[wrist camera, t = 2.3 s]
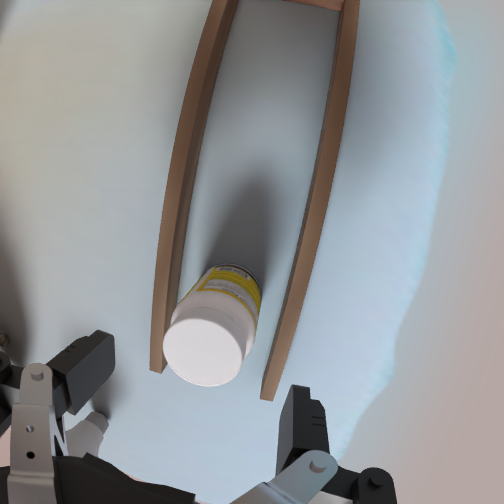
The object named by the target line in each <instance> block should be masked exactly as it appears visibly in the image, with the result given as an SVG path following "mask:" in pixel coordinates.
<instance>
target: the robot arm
mask: <svg viewBox="0 0 504 504" xmlns="http://www.w3.org/2000/svg"><path fill="white" fill-rule="evenodd" d="M114 367H115V345H114V336H113V335H111V334H109V333H106V332H103V331H101V330H96V331H95V332H94V333H93V334H91V335H90V336H89V337H88V336H85V337H82V338H79V339H76V340H75V341H74V342H73V343H71V344H70V346H68V347H66V348H65V350H63V351H61V352H60V353H59V354H58V355H56V356H55V357H54V358H53V359H52V360H50V361H49V362H48V363H47V364H41V363H33V364H30V365H28V366H26V367H25V368H21V367H18V366H15V365H11V361H10V358H9V356H8V355H7V354H6V353H4V352H1V351H0V437H1V436H2V434H3V433H4V432H5V431H6V430H7V429H8V428H9V426H10V425H11V441H10V466H6V467H0V504H199V503H198V502H196V501H195V495H196V494H193V493H189V492H186V491H182V490H179V489H176V488H173V487H170V486H166V485H159V484H152V483H146V482H140V481H135V480H133V479H132V478H130V477H129V476H127V475H126V474H124V473H123V472H122V471H120V470H119V469H117V468H116V467H115V466H113V465H112V464H110V463H108V462H106V461H104V460H102V459H100V458H98V457H96V456H94V455H92V454H90V453H88V452H86V454H85V455H84V456H83V458H81V457H76V456H69V455H68V450H67V444H66V435H65V426H64V417H63V414H64V413H65V412H66V411H67V412H69V413H71V414H73V415H76V414H77V413H78V412H79V410H80V409H81V408H82V407H83V406H84V405H85V404H86V402H87V401H88V400H89V399H90V398H91V397H92V396H93V394H94V393H95V392H96V391H97V390H98V389H99V388H100V386H101V385H102V384H103V383H104V382H105V381H106V380H107V379H108V377H109V376H110V375H111V374H112V372H113V370H114ZM325 419H326V416H325V409H324V407H323V406H322V404H321V403H320V401H319V400H313V399H310V388H309V387H305V386H299V385H293V384H292V385H291V387H290V390H289V393H288V395H287V398H286V401H285V404H284V406H283V409H282V412H281V416H280V422H279V436H278V450H277V463H276V475H275V478H273V479H272V480H271V481H269V482H268V483H265V482H262V483H260V484H258V485H257V486H255V487H254V488H252V489H251V490H249V491H248V492H246V493H245V494H244V495H242V496H241V497H239V498H237V499H236V500H234V501H233V502H231V503H230V504H397V500H396V494H395V488H394V482H393V479H392V477H391V476H390V474H389V473H388V472H386V471H385V470H383V469H380V468H375V467H374V468H367V469H365V470H363V471H362V472H361V473H357V472H353V471H350V470H346V469H344V468H342V467H340V466H338V464H337V462H336V460H335V458H334V457H333V456H331V455H330V451H329V442H328V433H327V427H326V425H327V424H326V420H325Z"/></svg>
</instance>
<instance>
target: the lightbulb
mask: <svg viewBox="0 0 504 504" xmlns="http://www.w3.org/2000/svg"><path fill="white" fill-rule="evenodd" d="M108 426H109V424H108V421H107V419H106V418H105V416H104V415H103V414H101V413H98V412H91V413H90V414H89V415H88V416H87V417H86V418H85V419H84V420H82V421H80V422H79V423H78V424H77V425H76V426H75V427H73V428H72V429H70V430H68V431H65V435H66V444H67V450H68V455H69V456H76V457H81V458H83V456H84V455H85V454H86V452H88V453H90V454H92V455H94V456H96V457H98V449H99V446H100V444H101V442H102V440H103V434H104V433H105V431H106V430H107V428H108Z"/></svg>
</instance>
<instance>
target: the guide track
mask: <svg viewBox="0 0 504 504" xmlns="http://www.w3.org/2000/svg"><path fill="white" fill-rule="evenodd" d="M284 1H291V2H297V3H303V4H308V5H314V6H318V7H323V8H328V9H332V10H336V11H340V20H339V27H338V34H337V41H336V48H335V55H334V61H333V67H332V74H331V80H330V86H329V92H328V97H327V103H326V109H325V114H324V120H323V125H322V131H321V136H320V141H319V146H318V151H317V156H316V161H315V166H314V171H313V176H312V181H311V186H310V190H309V195H308V200H307V204H306V209H305V213H304V218H303V222H302V227H301V231H300V236H299V240H298V244H297V249H296V253H295V257H294V261H293V265H292V270H291V274H290V278H289V282H288V286H287V290H286V294H285V298H284V302H283V306H282V309H281V313H280V317H279V321H278V325H277V329H276V332H275V336H274V340H273V343H272V347H271V351H270V354H269V358H268V362H267V365H266V369H265V372H264V376H263V379H262V386H261V394H260V399H262V400H268V401H273V399H274V396H275V393H276V390H277V387H278V384H279V381H280V378H281V375H282V372H283V369H284V366H285V362H286V359H287V356H288V353H289V350H290V346H291V343H292V340H293V336H294V333H295V329H296V326H297V323H298V319H299V316H300V312H301V309H302V305H303V301H304V298H305V294H306V291H307V287H308V283H309V279H310V276H311V272H312V268H313V264H314V260H315V256H316V252H317V248H318V244H319V240H320V236H321V231H322V227H323V223H324V219H325V214H326V210H327V205H328V201H329V196H330V192H331V187H332V182H333V177H334V172H335V168H336V162H337V157H338V152H339V147H340V142H341V136H342V131H343V125H344V119H345V113H346V107H347V101H348V95H349V88H350V81H351V74H352V67H353V60H354V52H355V44H356V35H357V26H358V16H359V5H360V0H284ZM237 2H238V0H213V2H212V5H211V8H210V11H209V14H208V17H207V20H206V23H205V26H204V29H203V32H202V35H201V39H200V42H199V45H198V49H197V52H196V56H195V59H194V63H193V66H192V70H191V74H190V78H189V81H188V85H187V89H186V93H185V97H184V101H183V106H182V110H181V114H180V119H179V123H178V128H177V133H176V137H175V142H174V147H173V152H172V158H171V163H170V169H169V174H168V180H167V186H166V192H165V198H164V205H163V212H162V219H161V226H160V234H159V242H158V251H157V260H156V269H155V280H154V291H153V305H152V320H151V340H150V370H151V371H154V372H157V373H160V374H161V373H162V372H163V370H164V369H165V367H166V365H167V364H168V362H167V360H166V358H165V356H164V352H163V340H164V336H165V334H166V332H167V330H168V329H169V327H170V326H171V318H172V315H173V312H174V310H175V308H176V304H177V295H178V286H179V278H180V270H181V262H182V255H183V248H184V241H185V234H186V228H187V221H188V215H189V209H190V203H191V197H192V191H193V185H194V180H195V174H196V169H197V164H198V158H199V153H200V148H201V143H202V139H203V134H204V129H205V124H206V120H207V115H208V111H209V107H210V102H211V98H212V94H213V89H214V85H215V81H216V77H217V73H218V69H219V65H220V62H221V58H222V54H223V50H224V47H225V43H226V39H227V36H228V32H229V29H230V26H231V22H232V19H233V15H234V12H235V9H236V6H237Z"/></svg>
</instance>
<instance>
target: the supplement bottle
mask: <svg viewBox="0 0 504 504" xmlns="http://www.w3.org/2000/svg"><path fill="white" fill-rule="evenodd" d="M261 298H262V294H261V288H260V285H259V283H258V281H257V279H256V278H255V277H254V276H253V275H252V273H250V272H249V271H248V270H247V269H245V268H243V267H241V266H239V265H235V264H220V265H217V266H214V267H212V268H210V269H209V270H208V271H206V272H205V273H204V274H203V275H202V276H201V278H200V279H199V280H198V281H197V283H196V284H195V285H194V286H193V287H192V289H191V290H190V291H189V292H188V293H187V295H186V296H185V297H184V298H183V299H182V300H181V302H180V303H179V304H178V305H177V307H176V308H175V310H174V312H173V315H172V318H171V326H170V327H169V329H168V330H167V332H166V334H165V336H164V340H163V352H164V356H165V358H166V360H167V362H168V364H169V366H170V367H171V368H172V370H173V371H174V372H175V373H176V374H177V375H179V376H180V377H181V378H183V379H184V380H186V381H188V382H190V383H193V384H196V385H199V386H207V387H211V386H219V385H222V384H225V383H227V382H229V381H230V380H232V379H233V378H234V377H235V376H236V375H237V374H238V372H239V371H240V369H241V366H242V363H243V360H244V358H245V357H246V356H247V354H248V353H249V352H250V350H251V348H252V346H253V344H254V340H255V336H256V330H257V324H258V318H259V312H260V306H261Z"/></svg>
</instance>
